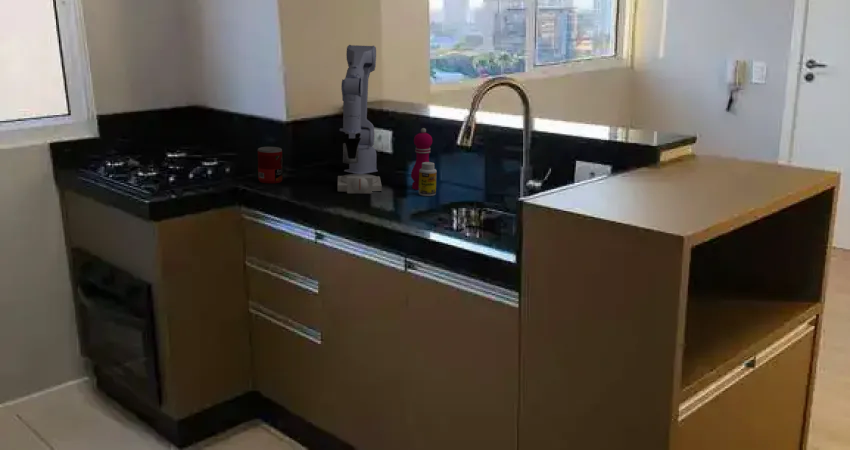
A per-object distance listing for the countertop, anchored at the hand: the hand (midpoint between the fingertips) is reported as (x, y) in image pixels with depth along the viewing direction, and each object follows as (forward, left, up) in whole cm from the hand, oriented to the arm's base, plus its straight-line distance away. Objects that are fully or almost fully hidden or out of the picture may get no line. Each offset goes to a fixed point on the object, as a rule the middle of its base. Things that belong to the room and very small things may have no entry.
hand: (351, 156), depth 267 cm
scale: (+1, +4, -10) cm, 11 cm away
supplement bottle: (-9, +25, -10) cm, 29 cm away
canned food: (+17, -22, -10) cm, 29 cm away
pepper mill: (-14, +18, -10) cm, 25 cm away
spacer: (0, 0, -2) cm, 2 cm away
